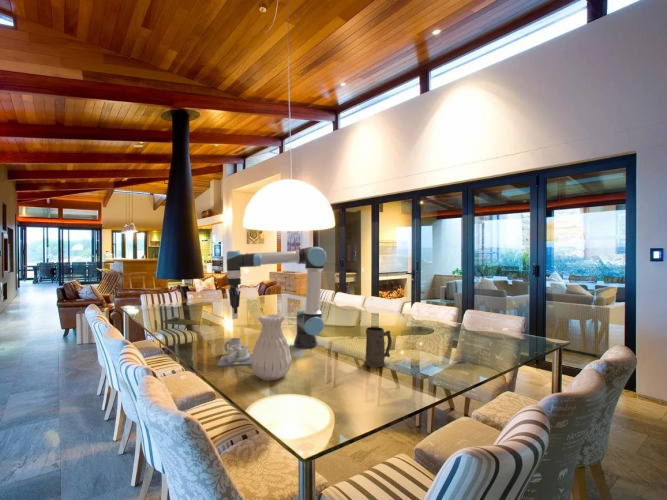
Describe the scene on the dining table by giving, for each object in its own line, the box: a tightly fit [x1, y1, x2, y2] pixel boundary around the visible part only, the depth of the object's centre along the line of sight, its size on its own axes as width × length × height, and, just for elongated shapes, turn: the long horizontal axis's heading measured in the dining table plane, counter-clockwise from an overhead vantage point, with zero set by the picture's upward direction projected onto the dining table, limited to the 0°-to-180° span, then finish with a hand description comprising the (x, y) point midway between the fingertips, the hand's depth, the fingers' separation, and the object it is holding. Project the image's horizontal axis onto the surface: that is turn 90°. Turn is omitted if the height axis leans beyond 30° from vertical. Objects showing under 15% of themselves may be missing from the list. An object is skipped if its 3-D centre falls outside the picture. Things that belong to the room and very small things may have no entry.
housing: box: [216, 347, 253, 368], centre depth 203 cm, size 20×18×8 cm
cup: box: [223, 337, 242, 353], centre depth 216 cm, size 7×10×9 cm
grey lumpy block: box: [226, 344, 249, 362], centre depth 198 cm, size 20×11×4 cm, turn 179°
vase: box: [250, 314, 293, 382], centre depth 178 cm, size 20×20×30 cm
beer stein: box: [364, 326, 393, 368], centre depth 199 cm, size 15×11×20 cm
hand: (235, 318), depth 206 cm, fingers closed
